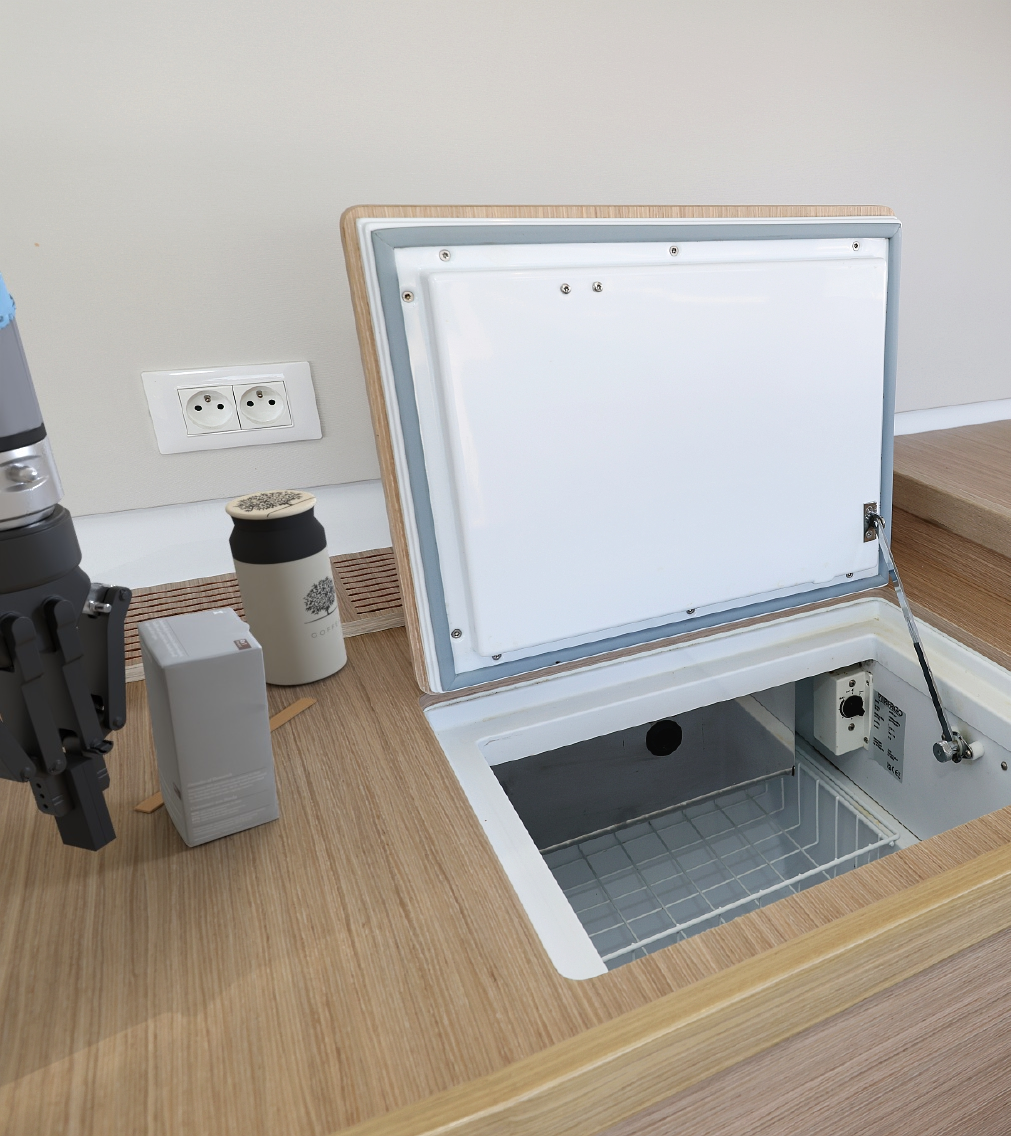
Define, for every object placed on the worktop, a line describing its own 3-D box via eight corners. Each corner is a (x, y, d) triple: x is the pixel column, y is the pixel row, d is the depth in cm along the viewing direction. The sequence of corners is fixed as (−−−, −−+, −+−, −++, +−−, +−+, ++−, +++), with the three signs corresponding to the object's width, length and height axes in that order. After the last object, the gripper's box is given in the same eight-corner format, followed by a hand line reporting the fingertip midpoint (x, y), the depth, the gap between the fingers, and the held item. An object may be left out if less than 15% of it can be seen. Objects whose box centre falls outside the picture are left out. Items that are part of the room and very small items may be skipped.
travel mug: (240, 675, 95) (201, 505, 88) (311, 643, 101) (281, 483, 94) (294, 695, 92) (259, 521, 85) (364, 661, 98) (337, 497, 92)
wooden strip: (134, 810, 75) (133, 807, 75) (303, 699, 91) (302, 697, 91) (150, 813, 75) (149, 811, 75) (316, 701, 91) (316, 699, 91)
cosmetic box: (161, 801, 76) (120, 622, 70) (261, 769, 81) (231, 600, 75) (187, 854, 70) (145, 665, 65) (293, 817, 75) (263, 638, 69)
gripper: (-88, 562, 49) (39, 918, 58) (140, 489, 61) (216, 795, 70) (-200, 543, 50) (-59, 895, 59) (44, 476, 62) (131, 777, 71)
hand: (90, 840), depth 64 cm, fingers closed
